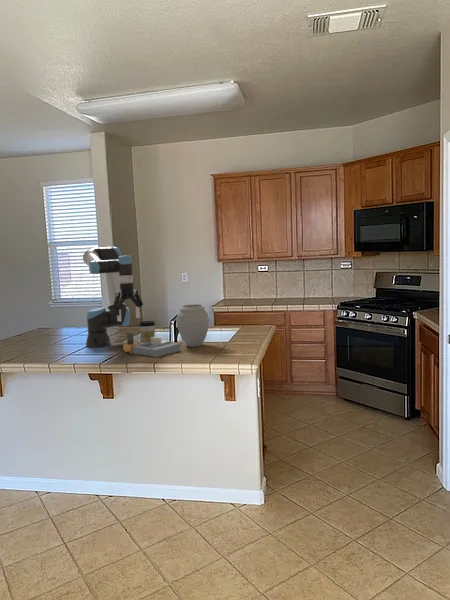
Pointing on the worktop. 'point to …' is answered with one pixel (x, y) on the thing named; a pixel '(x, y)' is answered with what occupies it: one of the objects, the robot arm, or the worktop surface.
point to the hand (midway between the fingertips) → (129, 319)
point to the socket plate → (156, 348)
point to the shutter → (157, 340)
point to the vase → (193, 324)
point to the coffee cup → (147, 330)
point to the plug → (129, 343)
